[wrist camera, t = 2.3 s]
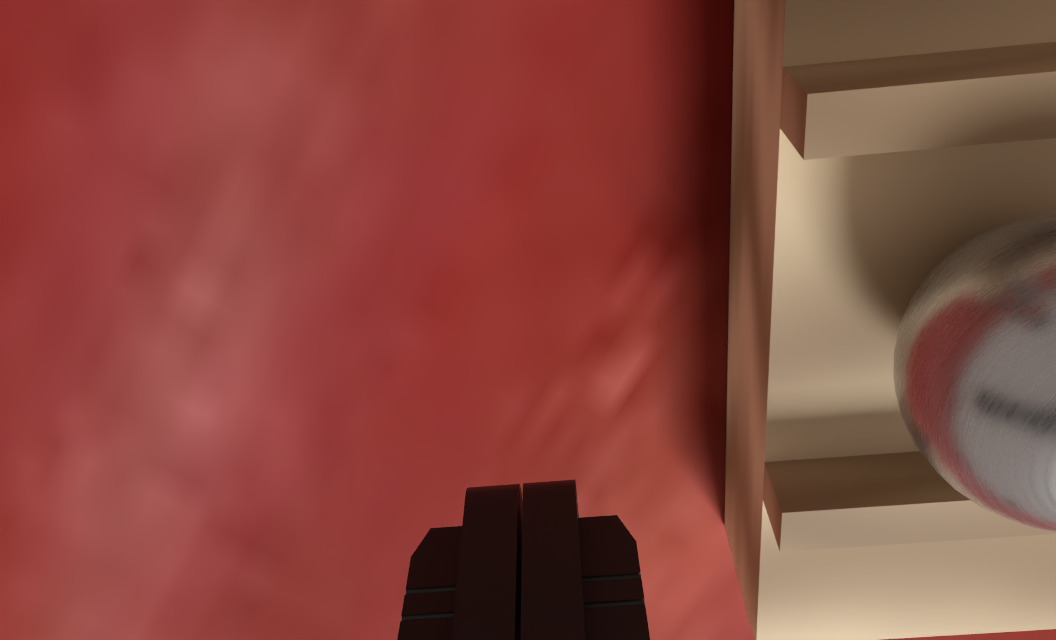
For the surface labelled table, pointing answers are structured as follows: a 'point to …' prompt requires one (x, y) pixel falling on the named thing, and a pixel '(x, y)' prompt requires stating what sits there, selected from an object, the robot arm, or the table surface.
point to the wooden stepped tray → (870, 305)
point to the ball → (987, 370)
